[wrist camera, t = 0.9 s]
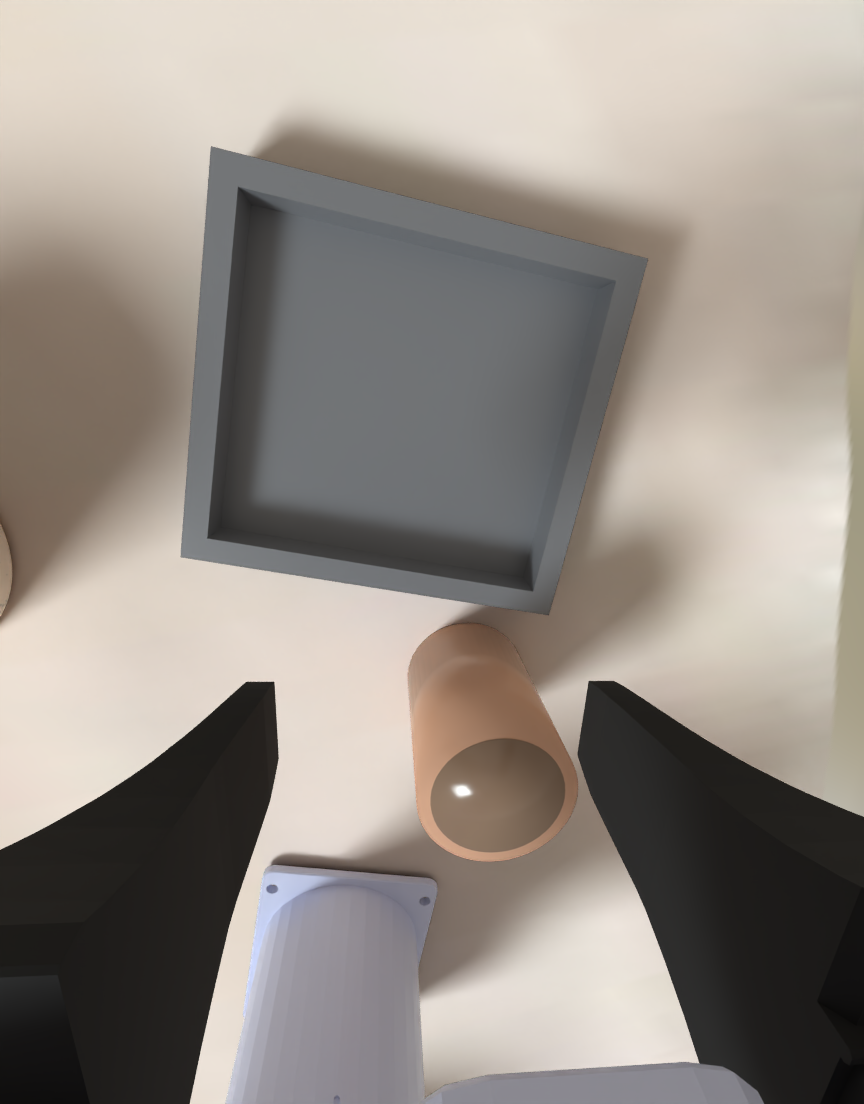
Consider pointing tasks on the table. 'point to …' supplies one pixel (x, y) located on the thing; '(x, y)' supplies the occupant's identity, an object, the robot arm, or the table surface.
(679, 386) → the table surface
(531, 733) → the terracotta cup
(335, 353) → the charcoal tray
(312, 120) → the table surface
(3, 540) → the teacup with lid
